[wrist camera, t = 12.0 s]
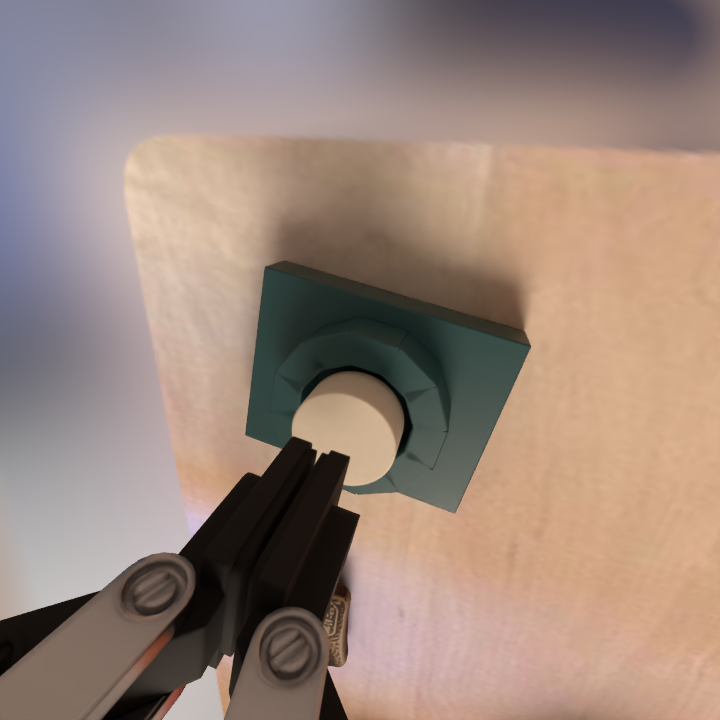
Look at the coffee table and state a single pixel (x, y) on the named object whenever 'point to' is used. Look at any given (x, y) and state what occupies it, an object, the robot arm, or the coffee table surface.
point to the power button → (353, 423)
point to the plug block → (385, 372)
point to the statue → (338, 626)
